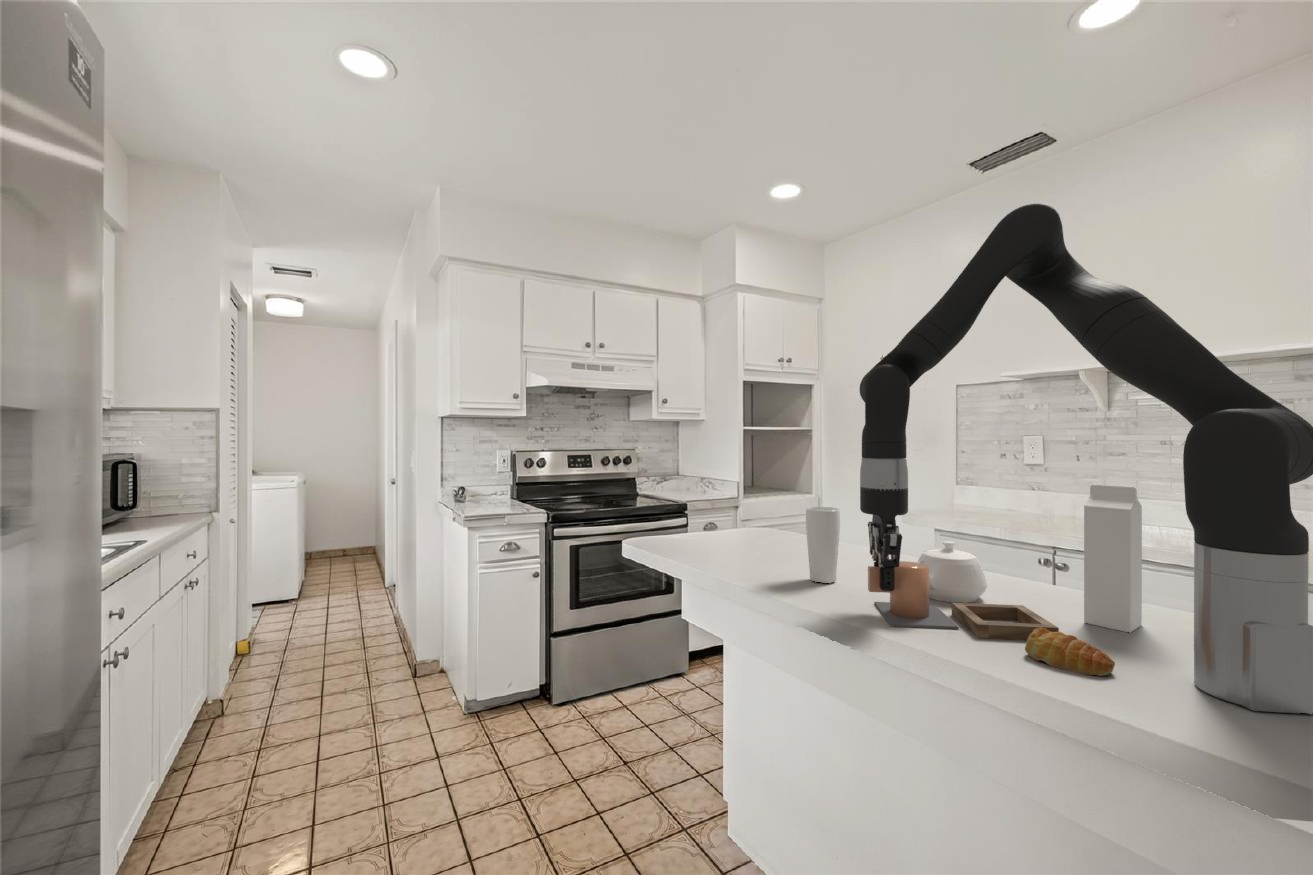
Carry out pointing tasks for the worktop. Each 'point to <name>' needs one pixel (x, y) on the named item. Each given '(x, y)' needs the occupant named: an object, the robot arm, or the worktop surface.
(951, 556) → the teapot
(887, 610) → the mat
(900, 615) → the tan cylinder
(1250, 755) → the worktop surface
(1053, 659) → the pastry
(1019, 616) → the wooden tray
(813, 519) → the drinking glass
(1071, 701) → the worktop surface
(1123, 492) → the milk
